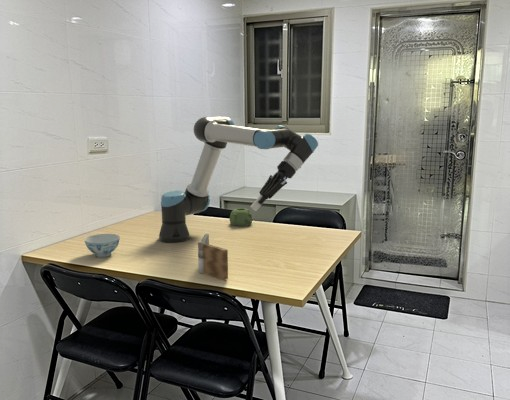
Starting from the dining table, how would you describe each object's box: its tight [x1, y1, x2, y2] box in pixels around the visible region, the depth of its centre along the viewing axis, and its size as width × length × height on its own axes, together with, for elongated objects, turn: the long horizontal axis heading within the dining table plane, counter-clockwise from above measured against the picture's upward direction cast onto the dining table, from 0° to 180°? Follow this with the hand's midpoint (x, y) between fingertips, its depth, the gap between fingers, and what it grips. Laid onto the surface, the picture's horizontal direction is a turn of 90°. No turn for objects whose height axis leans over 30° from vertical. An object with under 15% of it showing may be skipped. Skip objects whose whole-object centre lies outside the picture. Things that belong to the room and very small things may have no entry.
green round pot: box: [229, 207, 253, 227], centre depth 263 cm, size 16×13×9 cm
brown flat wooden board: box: [197, 241, 229, 281], centre depth 182 cm, size 15×3×12 cm, turn 47°
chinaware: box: [84, 233, 121, 258], centre depth 209 cm, size 15×15×8 cm
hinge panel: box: [197, 233, 210, 274], centre depth 192 cm, size 15×3×12 cm, turn 177°
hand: (253, 209), depth 191 cm, fingers closed
